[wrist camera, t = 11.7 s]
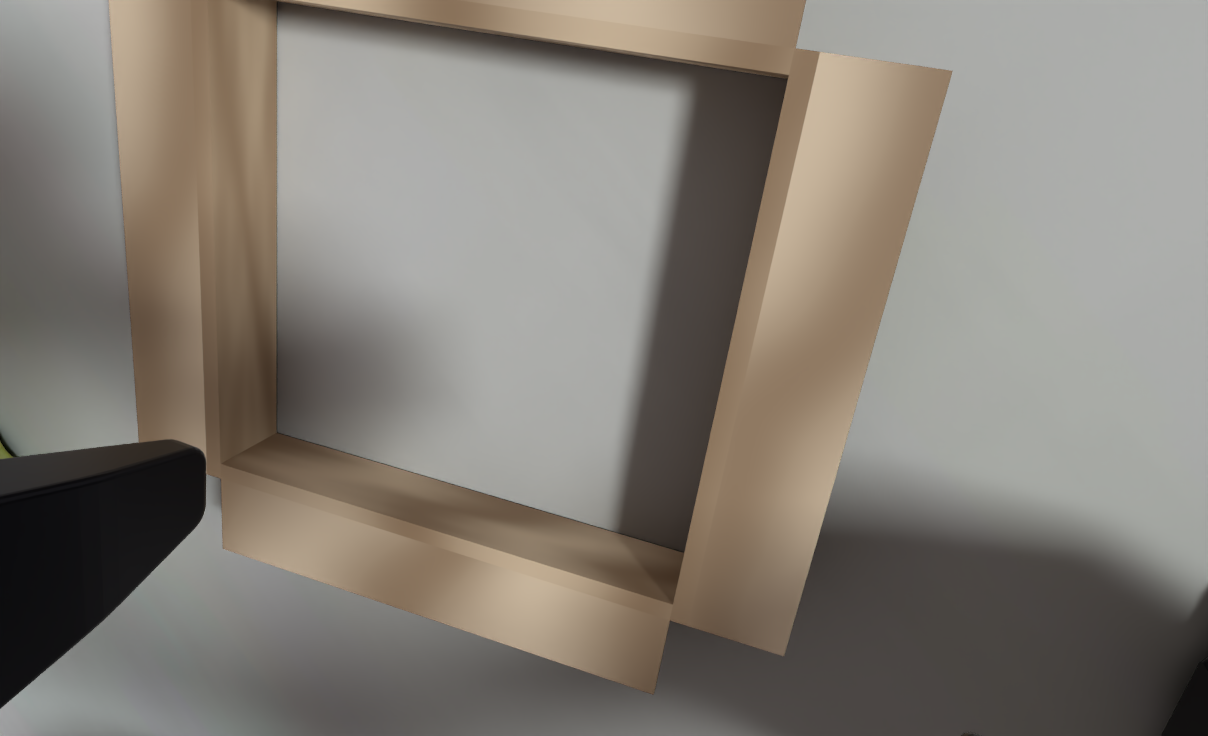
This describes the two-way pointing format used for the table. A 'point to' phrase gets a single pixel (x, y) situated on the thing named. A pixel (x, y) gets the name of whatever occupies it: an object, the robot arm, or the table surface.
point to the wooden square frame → (468, 518)
